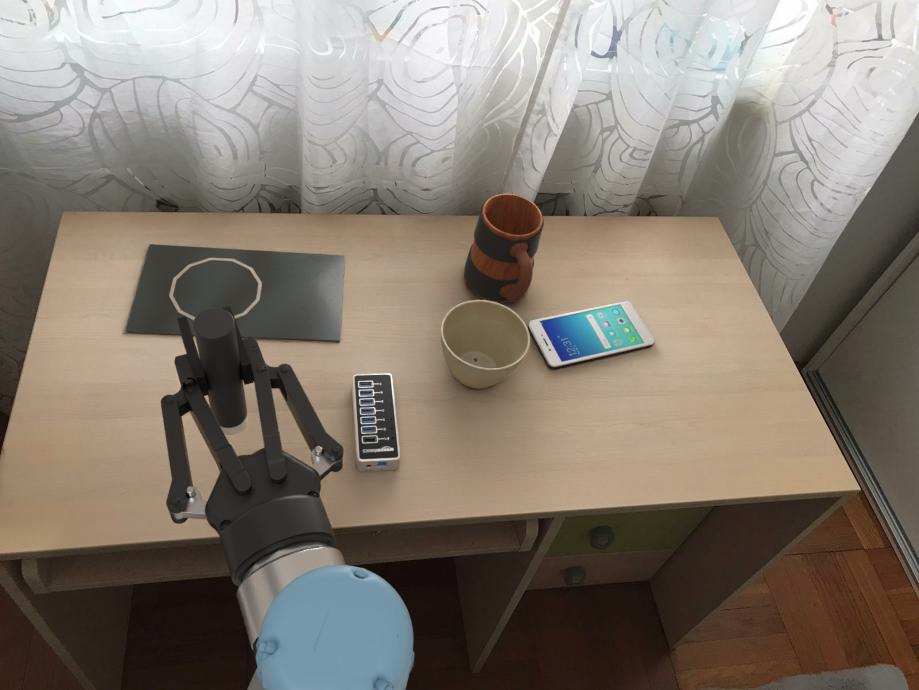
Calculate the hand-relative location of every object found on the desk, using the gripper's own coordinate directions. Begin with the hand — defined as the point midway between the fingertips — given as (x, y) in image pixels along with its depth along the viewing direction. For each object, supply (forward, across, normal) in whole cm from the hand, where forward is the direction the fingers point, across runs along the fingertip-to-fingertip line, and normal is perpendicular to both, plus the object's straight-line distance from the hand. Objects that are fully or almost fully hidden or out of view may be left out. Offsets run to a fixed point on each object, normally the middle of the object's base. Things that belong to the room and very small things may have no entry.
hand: (206, 322), depth 64 cm
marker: (-5, 0, -8) cm, 9 cm away
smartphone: (-2, +45, -18) cm, 48 cm away
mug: (+9, +37, -18) cm, 42 cm away
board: (+19, +7, -18) cm, 27 cm away
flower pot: (-2, +29, -18) cm, 34 cm away
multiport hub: (-5, +15, -18) cm, 24 cm away
